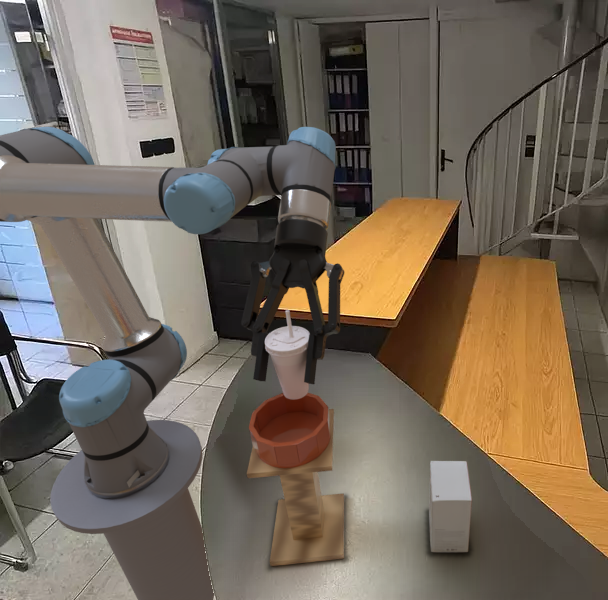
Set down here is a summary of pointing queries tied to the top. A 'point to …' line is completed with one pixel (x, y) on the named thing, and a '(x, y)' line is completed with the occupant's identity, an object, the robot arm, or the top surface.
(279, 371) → the smoothie
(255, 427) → the bowl
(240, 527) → the top surface
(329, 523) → the pedestal
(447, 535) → the small box
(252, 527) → the top surface
